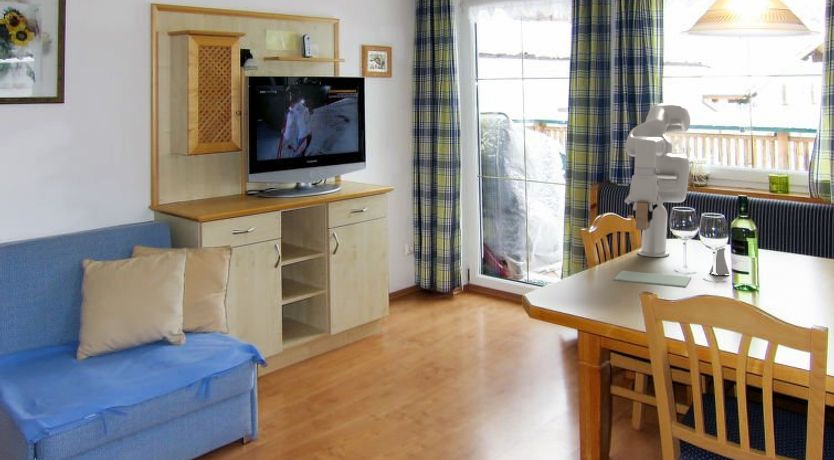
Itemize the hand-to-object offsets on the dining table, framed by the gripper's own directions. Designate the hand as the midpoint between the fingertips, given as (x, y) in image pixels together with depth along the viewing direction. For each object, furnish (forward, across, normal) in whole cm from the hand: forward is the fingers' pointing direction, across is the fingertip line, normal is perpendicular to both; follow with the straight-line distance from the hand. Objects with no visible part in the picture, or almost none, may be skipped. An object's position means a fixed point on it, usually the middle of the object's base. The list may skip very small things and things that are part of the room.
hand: (642, 220), depth 284 cm
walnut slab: (+3, 0, 0) cm, 3 cm away
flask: (+20, -27, -8) cm, 35 cm away
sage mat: (+20, -6, +9) cm, 23 cm away
